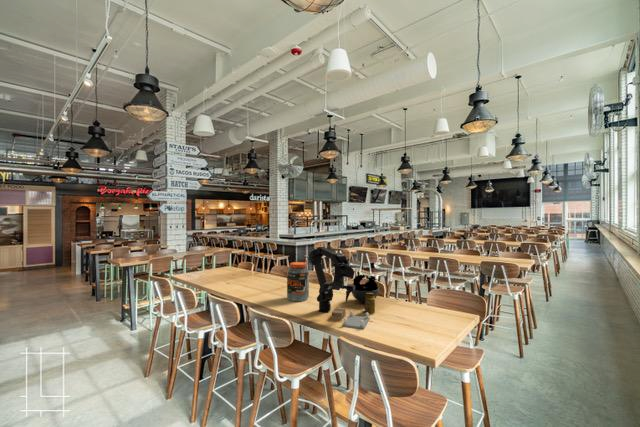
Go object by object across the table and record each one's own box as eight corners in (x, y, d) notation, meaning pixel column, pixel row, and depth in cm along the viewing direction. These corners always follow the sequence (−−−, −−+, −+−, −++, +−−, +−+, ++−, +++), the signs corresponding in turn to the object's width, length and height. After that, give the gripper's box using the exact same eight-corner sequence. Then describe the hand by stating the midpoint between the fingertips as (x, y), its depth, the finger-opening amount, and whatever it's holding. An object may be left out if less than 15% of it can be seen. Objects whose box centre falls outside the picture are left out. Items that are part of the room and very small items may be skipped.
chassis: (363, 329, 158) (363, 321, 158) (342, 326, 162) (342, 318, 162) (369, 319, 173) (369, 312, 173) (349, 316, 177) (349, 310, 177)
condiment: (377, 312, 185) (377, 293, 185) (367, 315, 180) (367, 295, 180) (369, 309, 191) (369, 291, 191) (359, 312, 186) (359, 293, 186)
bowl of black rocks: (351, 297, 219) (351, 272, 219) (378, 298, 216) (378, 272, 216) (349, 305, 199) (350, 277, 199) (380, 307, 196) (380, 278, 196)
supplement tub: (284, 301, 208) (284, 264, 208) (290, 295, 224) (290, 261, 224) (306, 302, 206) (306, 265, 206) (310, 296, 221) (310, 261, 221)
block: (341, 321, 171) (341, 313, 171) (331, 319, 173) (331, 312, 173) (345, 315, 180) (345, 308, 181) (336, 314, 182) (336, 307, 182)
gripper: (319, 276, 173) (319, 303, 173) (350, 278, 166) (350, 306, 166) (326, 272, 183) (325, 297, 183) (355, 275, 176) (355, 301, 176)
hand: (338, 300), depth 177 cm, fingers open, 9 cm apart
